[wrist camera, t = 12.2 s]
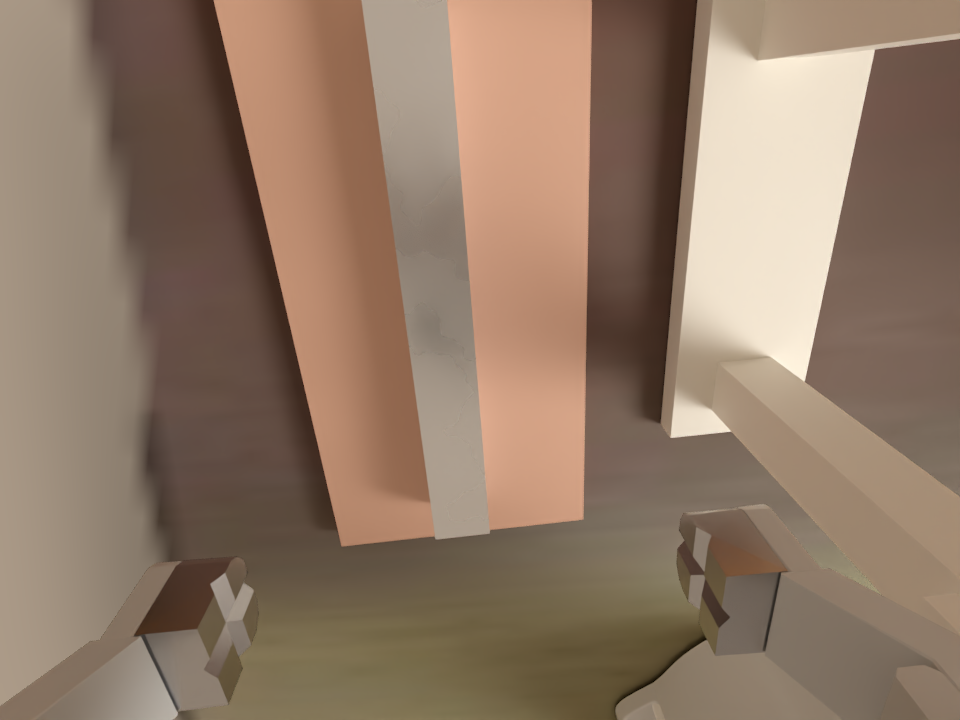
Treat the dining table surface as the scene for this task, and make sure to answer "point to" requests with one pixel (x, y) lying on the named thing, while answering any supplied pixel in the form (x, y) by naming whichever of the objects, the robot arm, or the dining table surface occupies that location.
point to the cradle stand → (794, 276)
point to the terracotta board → (372, 254)
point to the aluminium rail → (431, 248)
